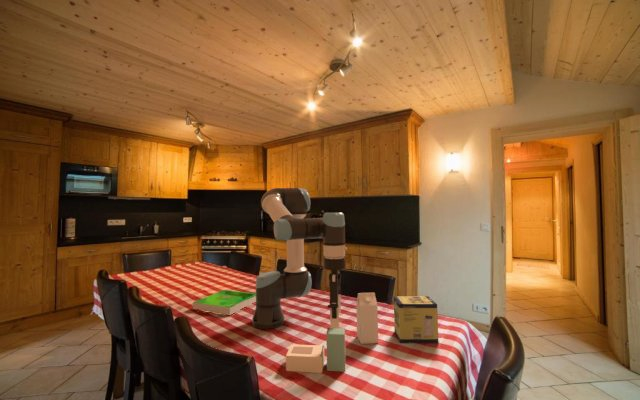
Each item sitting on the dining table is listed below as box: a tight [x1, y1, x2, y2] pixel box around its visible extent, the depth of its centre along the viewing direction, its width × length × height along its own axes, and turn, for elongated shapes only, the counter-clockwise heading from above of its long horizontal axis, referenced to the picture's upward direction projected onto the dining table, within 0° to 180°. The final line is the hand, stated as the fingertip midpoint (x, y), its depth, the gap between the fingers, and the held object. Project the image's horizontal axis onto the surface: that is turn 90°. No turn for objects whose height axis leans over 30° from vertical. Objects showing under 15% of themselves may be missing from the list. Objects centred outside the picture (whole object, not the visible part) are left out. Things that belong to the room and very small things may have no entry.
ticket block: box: [285, 343, 325, 374], centre depth 97 cm, size 12×8×5 cm, turn 83°
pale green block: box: [326, 326, 346, 372], centre depth 96 cm, size 6×5×12 cm
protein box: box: [393, 295, 439, 344], centre depth 117 cm, size 10×16×16 cm
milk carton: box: [355, 292, 379, 345], centre depth 115 cm, size 7×7×19 cm
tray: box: [192, 289, 256, 315], centre depth 160 cm, size 25×25×5 cm
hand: (336, 320), depth 96 cm, fingers open, 13 cm apart
